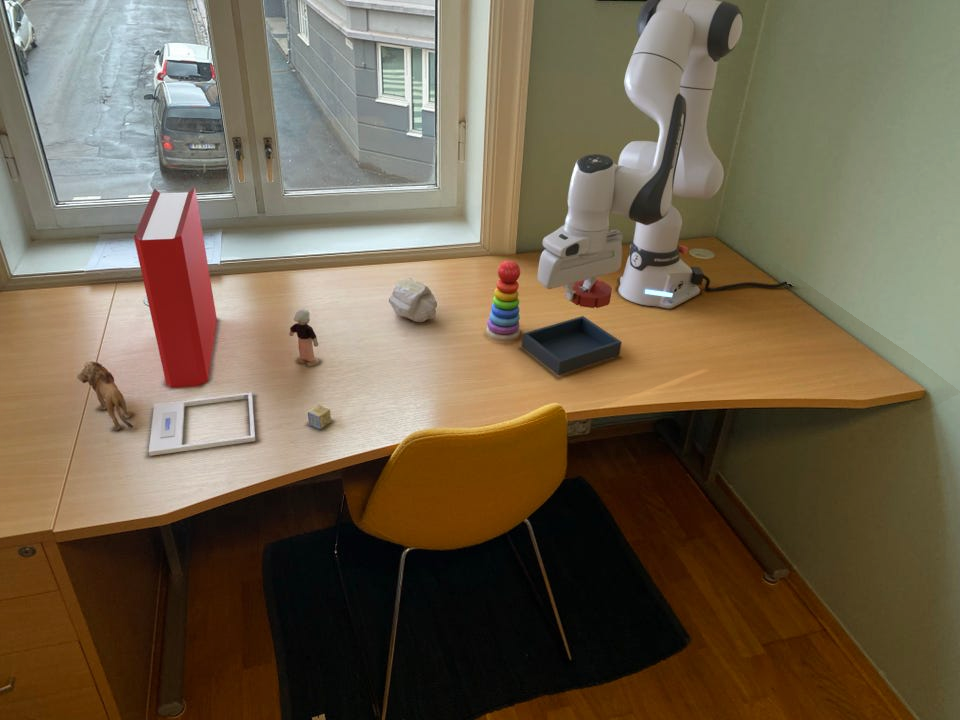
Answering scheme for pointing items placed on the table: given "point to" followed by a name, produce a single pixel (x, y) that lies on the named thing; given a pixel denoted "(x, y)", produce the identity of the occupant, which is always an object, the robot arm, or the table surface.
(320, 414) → the alphabet block
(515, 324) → the stacking toy
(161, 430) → the photo frame
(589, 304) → the ring
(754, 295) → the table surface
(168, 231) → the book
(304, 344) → the grandmother figurine
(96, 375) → the lion figurine
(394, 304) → the white rock
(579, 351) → the tray
